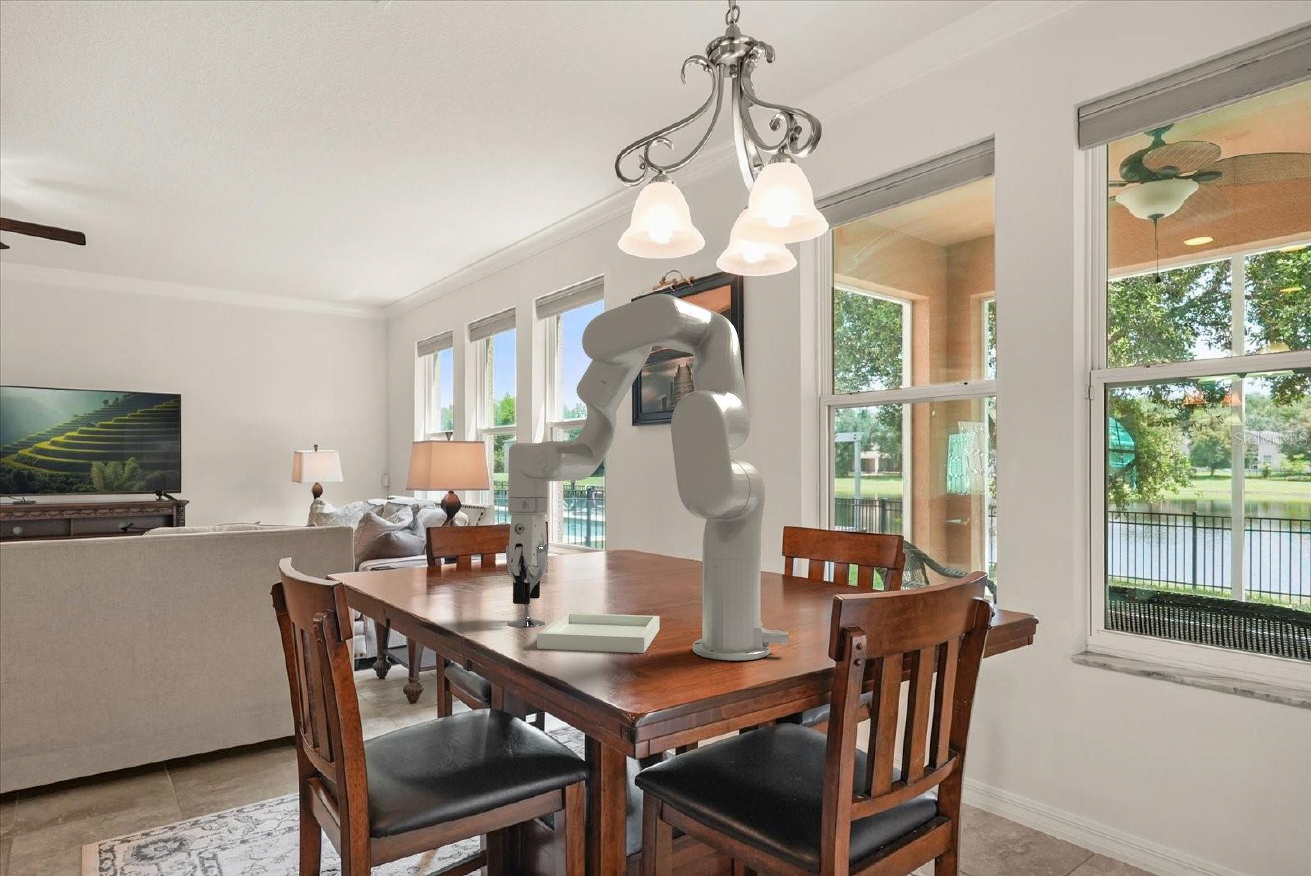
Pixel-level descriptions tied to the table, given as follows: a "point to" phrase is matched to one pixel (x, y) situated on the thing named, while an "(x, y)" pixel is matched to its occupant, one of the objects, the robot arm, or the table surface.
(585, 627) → the tray
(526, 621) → the wine glass
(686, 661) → the table surface
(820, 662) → the table surface
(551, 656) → the table surface
